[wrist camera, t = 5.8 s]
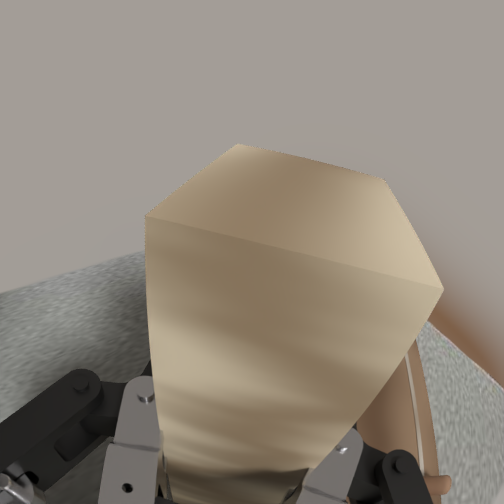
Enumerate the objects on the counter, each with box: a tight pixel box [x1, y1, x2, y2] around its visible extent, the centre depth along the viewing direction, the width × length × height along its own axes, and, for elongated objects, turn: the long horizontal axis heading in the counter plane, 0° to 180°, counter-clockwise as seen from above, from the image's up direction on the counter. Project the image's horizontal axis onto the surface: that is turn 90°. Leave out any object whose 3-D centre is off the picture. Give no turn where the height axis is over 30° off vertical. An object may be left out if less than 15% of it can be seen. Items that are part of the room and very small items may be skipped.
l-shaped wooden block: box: [145, 144, 451, 504], centre depth 10 cm, size 14×5×16 cm, turn 78°
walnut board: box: [279, 339, 441, 504], centre depth 18 cm, size 10×19×2 cm, turn 168°
